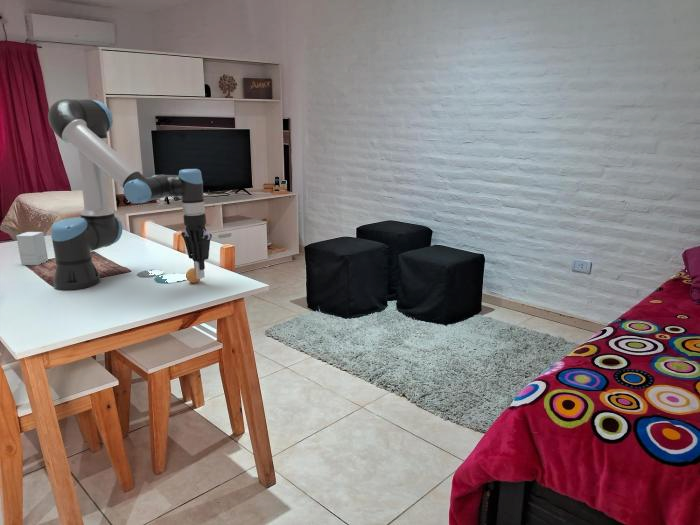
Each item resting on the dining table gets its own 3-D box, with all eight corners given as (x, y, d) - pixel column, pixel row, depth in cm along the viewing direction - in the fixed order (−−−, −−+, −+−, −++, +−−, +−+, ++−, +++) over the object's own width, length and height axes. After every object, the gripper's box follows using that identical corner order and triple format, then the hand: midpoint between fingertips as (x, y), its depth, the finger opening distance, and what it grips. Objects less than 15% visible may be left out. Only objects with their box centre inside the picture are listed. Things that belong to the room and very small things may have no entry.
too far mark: (149, 278, 202) (149, 278, 202) (131, 275, 206) (131, 274, 206) (169, 272, 210) (169, 271, 210) (152, 268, 215) (152, 268, 215)
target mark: (171, 285, 194) (171, 284, 194) (146, 280, 200) (146, 279, 200) (197, 276, 205) (197, 275, 205) (173, 271, 211) (173, 270, 211)
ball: (196, 278, 192) (186, 267, 193) (189, 287, 195) (180, 276, 196) (207, 274, 197) (198, 263, 198) (200, 283, 199) (191, 272, 200)
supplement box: (49, 260, 227) (44, 231, 224) (37, 265, 220) (32, 235, 217) (32, 260, 228) (27, 231, 224) (20, 265, 221) (15, 235, 217)
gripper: (215, 213, 188) (221, 277, 195) (189, 210, 195) (195, 273, 201) (199, 216, 182) (206, 283, 188) (173, 214, 188) (180, 278, 195)
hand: (200, 278), depth 195 cm, fingers closed
